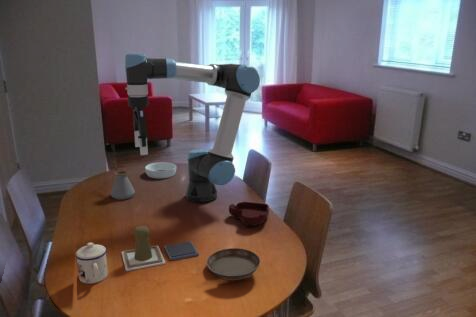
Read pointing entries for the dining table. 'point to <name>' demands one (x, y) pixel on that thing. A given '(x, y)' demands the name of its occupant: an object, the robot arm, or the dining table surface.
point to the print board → (134, 264)
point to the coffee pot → (121, 185)
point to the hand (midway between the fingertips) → (141, 150)
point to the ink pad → (181, 250)
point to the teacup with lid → (92, 263)
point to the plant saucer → (233, 263)
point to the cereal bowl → (154, 168)
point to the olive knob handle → (142, 244)
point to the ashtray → (250, 212)
